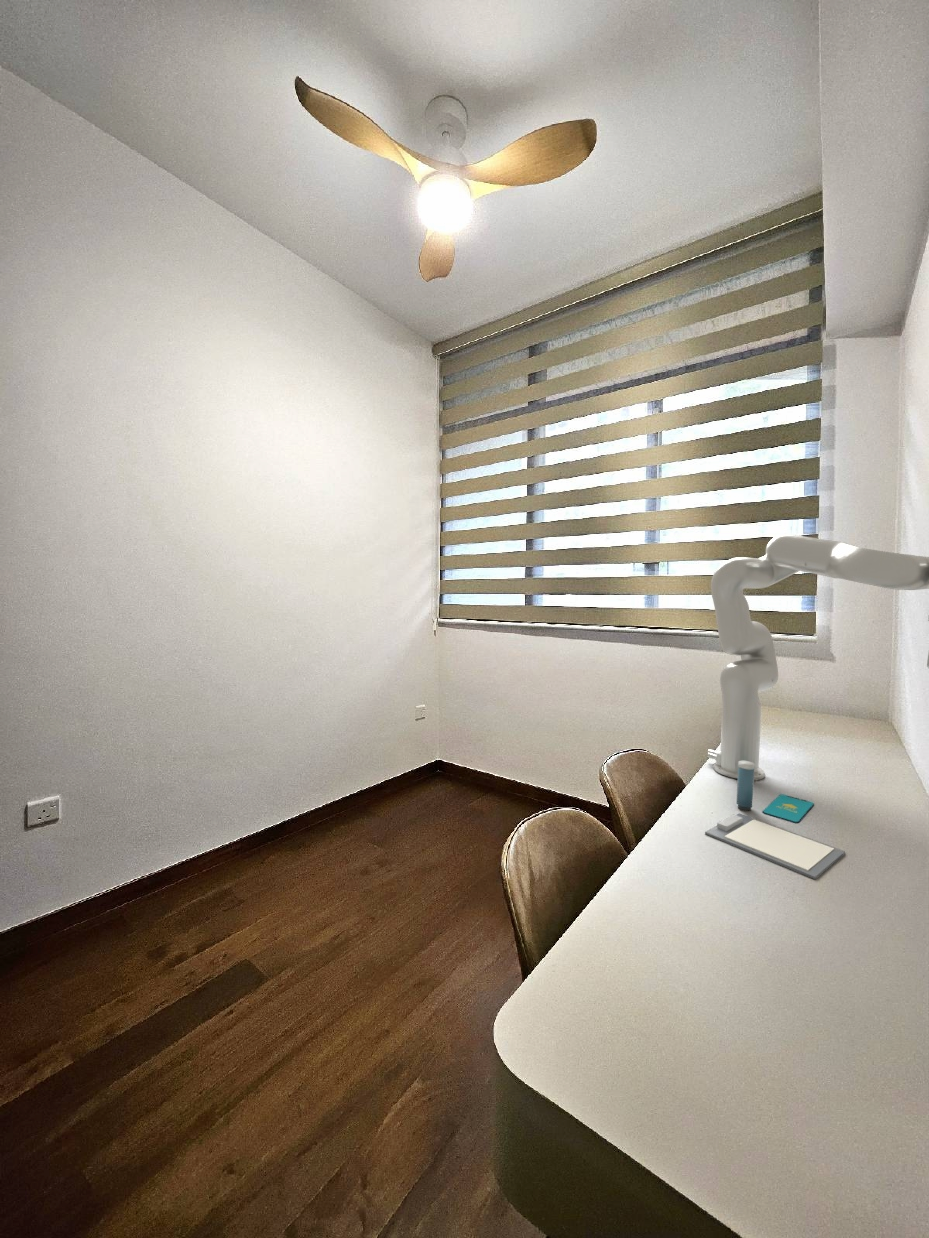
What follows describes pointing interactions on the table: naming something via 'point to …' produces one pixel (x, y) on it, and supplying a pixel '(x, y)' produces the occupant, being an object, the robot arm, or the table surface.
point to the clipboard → (776, 844)
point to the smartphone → (788, 808)
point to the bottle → (745, 785)
